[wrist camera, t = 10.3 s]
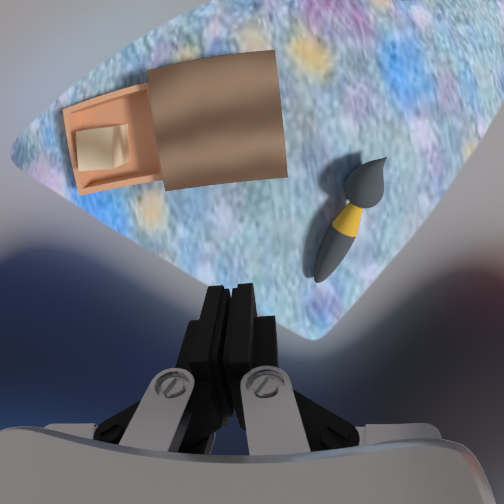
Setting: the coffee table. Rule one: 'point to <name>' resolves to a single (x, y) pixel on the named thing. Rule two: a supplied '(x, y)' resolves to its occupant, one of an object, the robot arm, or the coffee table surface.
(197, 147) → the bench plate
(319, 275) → the paintbrush
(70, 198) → the coffee table surface
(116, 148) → the beech block
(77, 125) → the tray
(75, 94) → the coffee table surface
